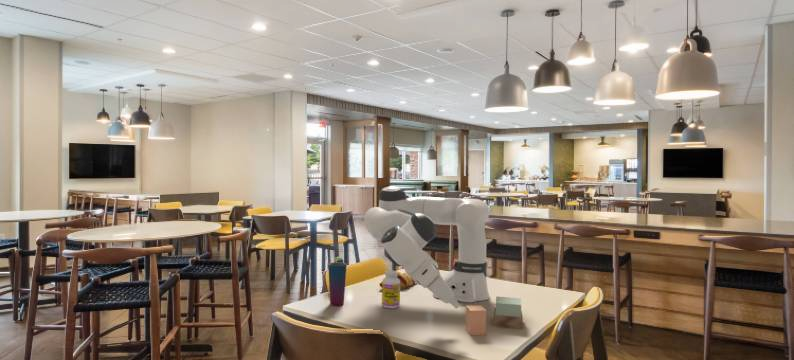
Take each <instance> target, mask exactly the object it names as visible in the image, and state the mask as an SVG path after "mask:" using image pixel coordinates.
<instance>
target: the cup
mask: <svg viewBox="0 0 794 360" xmlns="http://www.w3.org/2000/svg"><path fill="white" fill-rule="evenodd" d="M327 265H328V266H327V268H328V283H329V284H328V285H329V304H330V305H331V306H333V307H341V306H343V305H344V304H345V294H346V293H345V290H346V281H347V279H346V278H347V266H348V264H347V263H346V262H343V263H342V262H335V261H334V262H329V263H327Z"/></svg>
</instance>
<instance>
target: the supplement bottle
mask: <svg viewBox="0 0 794 360" xmlns="http://www.w3.org/2000/svg"><path fill="white" fill-rule="evenodd" d="M398 272H399V271H396V270H392V269H391V270H385V271H384V275H385V277H384V278H383V279H382V281H381V282H382V287H381V306H382V308H384V309H397V308H399V307H400V305H401V303H400V302H401V289H400V280H399V279H398V278H397V276H398Z"/></svg>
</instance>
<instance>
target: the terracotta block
mask: <svg viewBox="0 0 794 360" xmlns="http://www.w3.org/2000/svg"><path fill="white" fill-rule="evenodd" d="M465 331H466V332H467V333H468V334H469V335H471V336H475V335H477V336H478V334H479V335H480V334H482V335H486V334H487V332H486V331H487V309H485V308H484V306H482V305H466V306H465Z"/></svg>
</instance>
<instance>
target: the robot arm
mask: <svg viewBox="0 0 794 360" xmlns="http://www.w3.org/2000/svg"><path fill="white" fill-rule="evenodd" d="M489 216H490V208H489V206H488V204H487V203H486V202H485V201H483V200H482V199H479V198H461V197H460V198H458V197H457V198H456V197H439V196H438V197H436V196H412V197H411V196H409V194H408V193H406V192H405V191H404V190H403V188H401V187H398V186H394V185H393V186H392V185H391V186H386V187H383V188H382V189H381V190H379V193H378V206H373V207H370V208H369V209H368V210H367V211H366V212H365V214H364V217H363V218H364V219H363V220H364V221H363V222H364V225H365V228H366V230H367V232H368V233H369V234H370V236H371V237H372V238H374V239H375V240H377V241H380V244H381V245H382V247H383V254H384V256H385V257H386V258H387V259H388V260H389V261H390V262H391V263H392V264H393V265H394V266H395V267H402V268H403V269H404V271H405V273H406V274H408V275H409V276H410V277H411V278H412V279H413V280H414V281H415V282H416V283H415V284H416V285H418V286H419V285H420V286H421V287H422V288H423V289H426V288H427V290H429V292H431V293H432V294H433V295H432V296H433V297H434V298H436V299H439V300H441V301H442V302H443V303H445V304H448V303H449V304H450V305H451V306H453V307H454V308H455V309H458V308H460V306H461V304H460V302H463V303H471V304H472V303H475V302H480V301H481V302H482V301H486V300H488V299H490V298H491V297H490V293H489V288H488V283H487V282H488V281H487V276H488V261H487V239H486V230H485V229H486V228H485V225H486V224H485V223H486V222H487V220H488V219H489ZM437 225H443V226H447V225H456V230H457V237H458V238H457V239H458V259H453V261H452V270H451V271H449V272H448V273H447V274H445V275H444V276H441V272H440V270H439V264H438V262H436V261H435V259H434V258H432V256H431V255H430V254H429V253H428V252H427V251H425V250H424V249H423V248H425V246H426V245H427V244H428V243H430V242H431V241H432V240H433V239H434V238H436V234H437Z"/></svg>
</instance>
